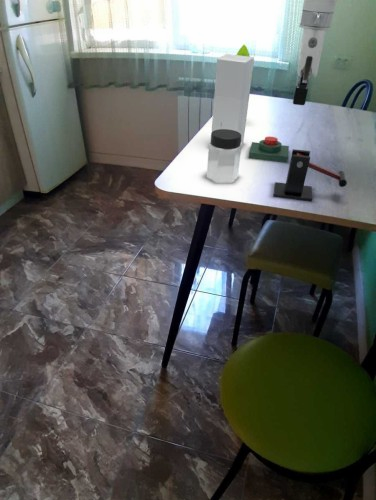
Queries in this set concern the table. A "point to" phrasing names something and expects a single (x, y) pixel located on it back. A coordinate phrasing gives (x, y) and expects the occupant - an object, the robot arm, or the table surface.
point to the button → (270, 141)
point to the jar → (224, 156)
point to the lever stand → (295, 179)
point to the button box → (269, 152)
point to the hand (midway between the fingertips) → (298, 103)
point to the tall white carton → (232, 93)
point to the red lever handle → (329, 173)
